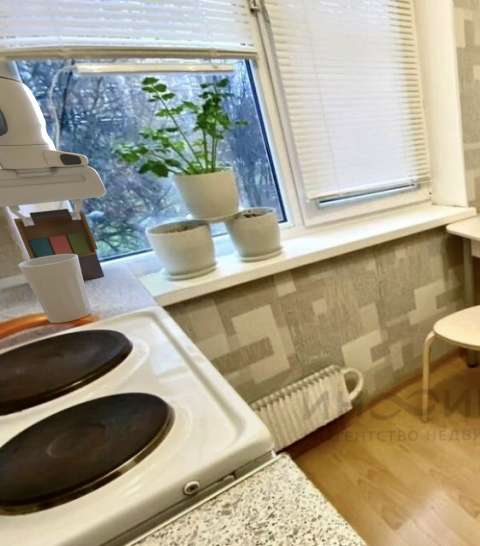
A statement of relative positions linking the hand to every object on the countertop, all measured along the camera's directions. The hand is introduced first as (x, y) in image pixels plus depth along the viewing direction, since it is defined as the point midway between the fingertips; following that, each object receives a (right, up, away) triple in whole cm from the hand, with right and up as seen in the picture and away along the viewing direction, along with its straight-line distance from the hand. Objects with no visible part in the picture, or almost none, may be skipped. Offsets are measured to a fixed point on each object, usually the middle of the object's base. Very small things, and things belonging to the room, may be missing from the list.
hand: (54, 222), depth 94 cm
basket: (-7, -3, +7) cm, 10 cm away
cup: (+13, -20, -9) cm, 26 cm away
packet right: (-4, -4, +9) cm, 11 cm away
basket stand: (-9, -13, +12) cm, 20 cm away
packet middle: (-6, -5, +7) cm, 10 cm away
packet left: (-8, -6, +4) cm, 11 cm away
